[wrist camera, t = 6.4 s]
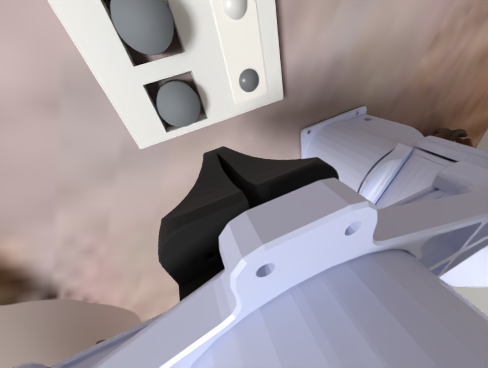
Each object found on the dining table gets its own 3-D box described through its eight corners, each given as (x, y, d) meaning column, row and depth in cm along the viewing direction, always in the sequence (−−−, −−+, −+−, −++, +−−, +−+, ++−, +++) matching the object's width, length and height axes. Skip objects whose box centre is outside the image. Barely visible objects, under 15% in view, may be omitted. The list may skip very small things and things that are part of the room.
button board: (245, -185, 11) (257, -219, 9) (276, 96, 20) (284, 99, 18) (-41, -158, 8) (-78, -198, 7) (141, 143, 18) (140, 150, 16)
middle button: (158, -12, 12) (157, -25, 10) (179, 48, 14) (182, 47, 12) (106, -1, 12) (95, -12, 10) (135, 60, 14) (131, 61, 12)
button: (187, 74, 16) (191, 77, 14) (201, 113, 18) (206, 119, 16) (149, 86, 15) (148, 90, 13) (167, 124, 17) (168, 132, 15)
